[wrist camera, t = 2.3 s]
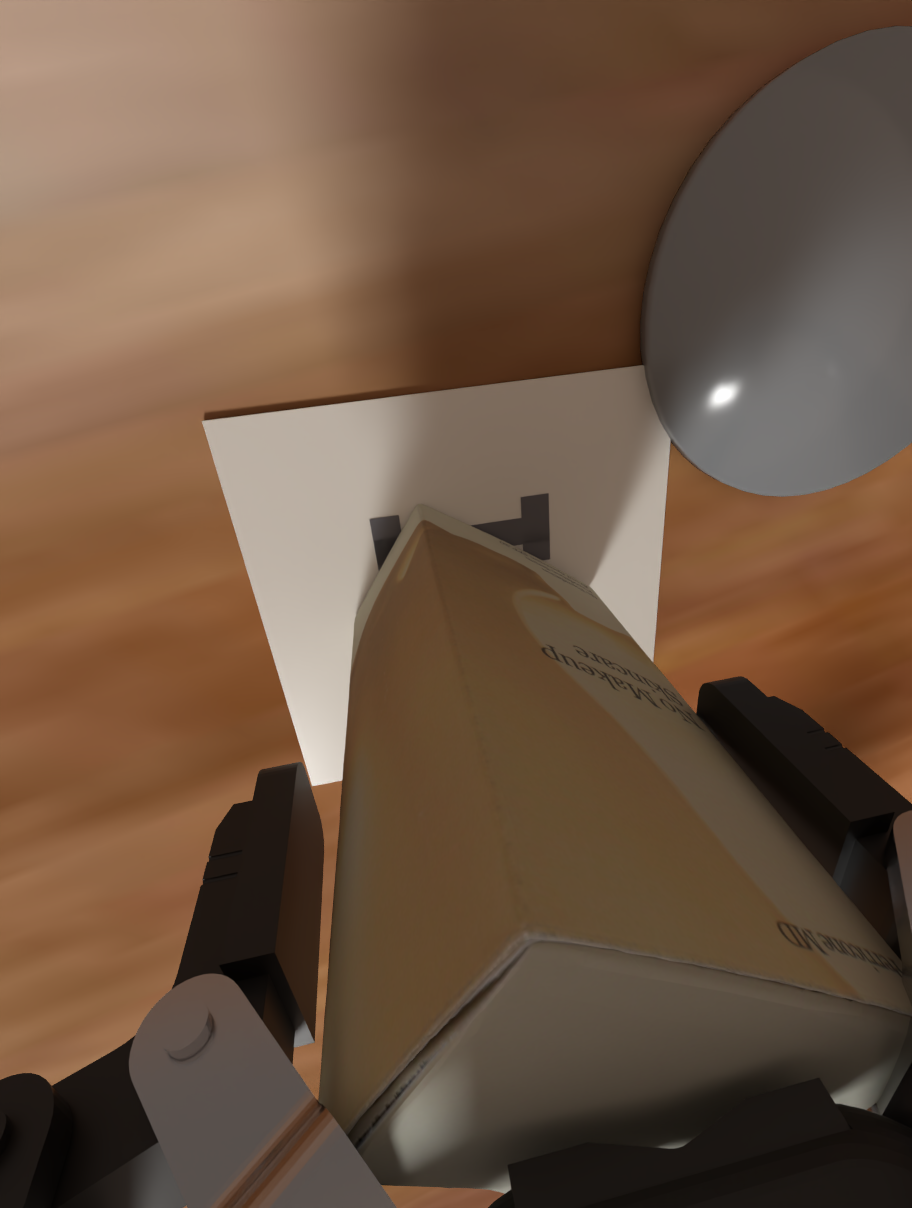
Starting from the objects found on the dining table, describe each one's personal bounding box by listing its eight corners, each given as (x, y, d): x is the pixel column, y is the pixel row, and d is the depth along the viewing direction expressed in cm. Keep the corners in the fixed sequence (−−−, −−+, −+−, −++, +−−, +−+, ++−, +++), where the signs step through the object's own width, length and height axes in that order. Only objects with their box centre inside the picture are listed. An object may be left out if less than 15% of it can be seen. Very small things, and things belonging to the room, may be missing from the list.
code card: (674, 360, 14) (677, 361, 14) (647, 721, 20) (648, 723, 20) (202, 420, 13) (201, 421, 13) (312, 783, 19) (312, 786, 19)
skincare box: (594, 584, 17) (1004, 1039, 6) (521, 692, 18) (750, 1215, 8) (406, 491, 15) (532, 946, 4) (339, 622, 16) (300, 1217, 5)
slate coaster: (1076, 24, 12) (1107, 11, 12) (940, 466, 17) (958, 471, 17) (653, 55, 12) (667, 42, 11) (631, 513, 16) (640, 519, 16)
